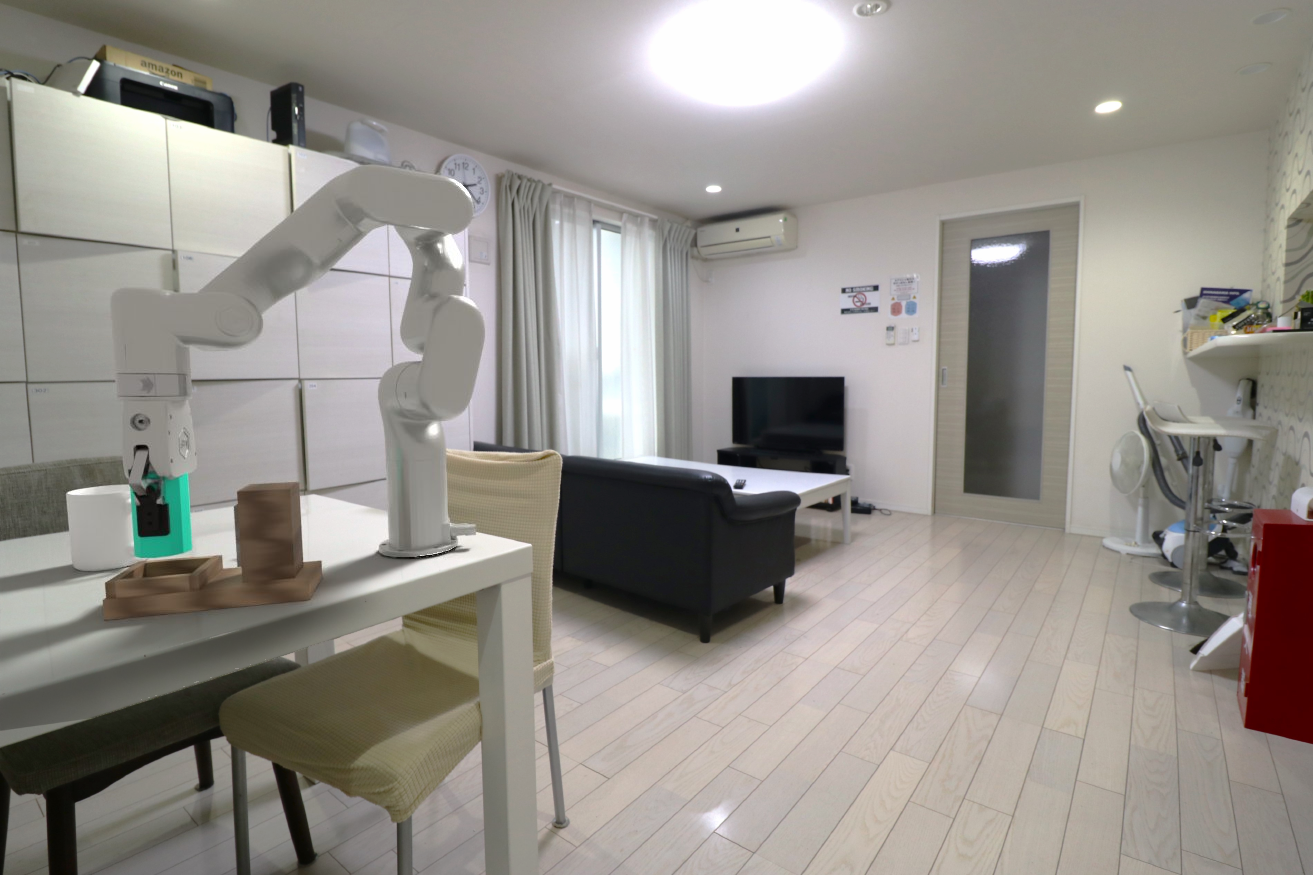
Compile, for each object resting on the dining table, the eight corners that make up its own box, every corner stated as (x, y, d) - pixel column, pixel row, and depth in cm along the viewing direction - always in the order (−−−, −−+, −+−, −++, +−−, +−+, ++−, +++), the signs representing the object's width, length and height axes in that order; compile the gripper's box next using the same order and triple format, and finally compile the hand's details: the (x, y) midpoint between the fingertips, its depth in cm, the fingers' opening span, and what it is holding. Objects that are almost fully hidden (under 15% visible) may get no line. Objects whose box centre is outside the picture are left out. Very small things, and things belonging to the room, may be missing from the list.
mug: (110, 554, 105) (105, 484, 104) (181, 555, 105) (176, 484, 103) (54, 571, 96) (47, 494, 94) (132, 573, 95) (126, 495, 94)
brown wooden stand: (322, 577, 93) (317, 478, 92) (309, 599, 84) (304, 490, 82) (140, 593, 86) (132, 487, 85) (104, 620, 77) (94, 501, 75)
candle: (161, 559, 79) (155, 462, 78) (121, 556, 80) (115, 461, 79) (204, 547, 85) (199, 457, 83) (167, 544, 86) (161, 455, 85)
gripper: (163, 389, 74) (172, 544, 75) (212, 388, 90) (219, 515, 91) (82, 389, 71) (94, 549, 73) (147, 387, 87) (155, 519, 89)
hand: (163, 529), depth 82 cm, fingers closed on candle, 4 cm apart
